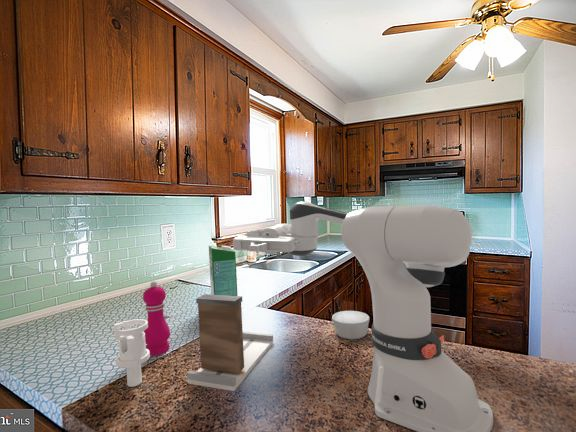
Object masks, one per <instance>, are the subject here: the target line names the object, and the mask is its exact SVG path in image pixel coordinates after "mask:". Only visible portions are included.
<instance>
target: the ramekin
mask: <svg viewBox="0 0 576 432" xmlns="http://www.w3.org/2000/svg"><path fill="white" fill-rule="evenodd" d="M331 321H332V323H333V328H334V332H335V334H336V335H337V336H338V337H340V338H342V339H346V340H358V339H362V338H364V337H365V336H366V335H367V334H368V332H369V331H368V330H369V323H370V316H369V315H368V314H367V313H366V312H362V311H357V310H341V311H338V312H335V313H334V314H332V317H331Z"/></svg>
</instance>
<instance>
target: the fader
mask: <svg viewBox="0 0 576 432" xmlns="http://www.w3.org/2000/svg"><path fill="white" fill-rule="evenodd" d="M195 302H196V304H197V311H198V330H199V334H198V335H199V349H200V351H199V352H200V365H201V366H200V367H201V368H202V369H208V370H215V371H222V372H229V373H236V374H239V373H240V372H241V370H242V369H243V368H244V351H243V332H244V331H243V315H242V313H243V312H242V303H243V295H242V296H239V295H238V296H226V295H211V294H208V293H206V294H205V293H204V294H202V295H201V296H198V297H197V298H195Z"/></svg>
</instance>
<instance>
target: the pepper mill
mask: <svg viewBox="0 0 576 432" xmlns="http://www.w3.org/2000/svg"><path fill="white" fill-rule="evenodd" d="M157 282H158V281H152V282H150V287H148V288H146V289H145V290H144V292H143V295H142V300H143V302H144V303H145V304H146V305H145V311H146V312H147V319H146V320H147V321H148V328H147V329H146V330H144V331H143V332H144V333H145V343H146V349H148V350H149V351H150V356H158V355H162V354H164V353H166V352H167V351H169V350H170V341H169V339H170V337H171V330H170V327H169V325H168V324H169V323H167V321H166V318H165V315H164V309H165V302H164V300H165V299H166V297H167V293H166V290H165V289H164V288H163V287H162V286H158V283H157Z"/></svg>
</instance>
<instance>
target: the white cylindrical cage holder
mask: <svg viewBox="0 0 576 432" xmlns="http://www.w3.org/2000/svg"><path fill="white" fill-rule="evenodd" d="M147 320H148V319H142V318H137V319H135V318H134V319H130V320H122V321H120V322H115V323H114V324H113V334H114V335H113V336H114V341H115V342H116V341H117V342H118V355H117V356H116V357H115V366H116V367H118V368H122V369H123V368H124V369H125V368H126V380H127V381H126V385H127V386H128V387H129V388H131V387H132V388H134V387H136V386H137V387H138V386H139V385H141V384H142V382H143V376H142V365H143V364H144V363H145V362H147V361H148V360H149V359H150V357H151V355H150V351H149V350H148V349H146V345H147V344H146V343H145V333H144V330H146V329H147V328H148V321H147ZM136 325H141V326H139V327H132V328H131V326H136ZM121 328H124V329H122V330H121Z"/></svg>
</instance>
